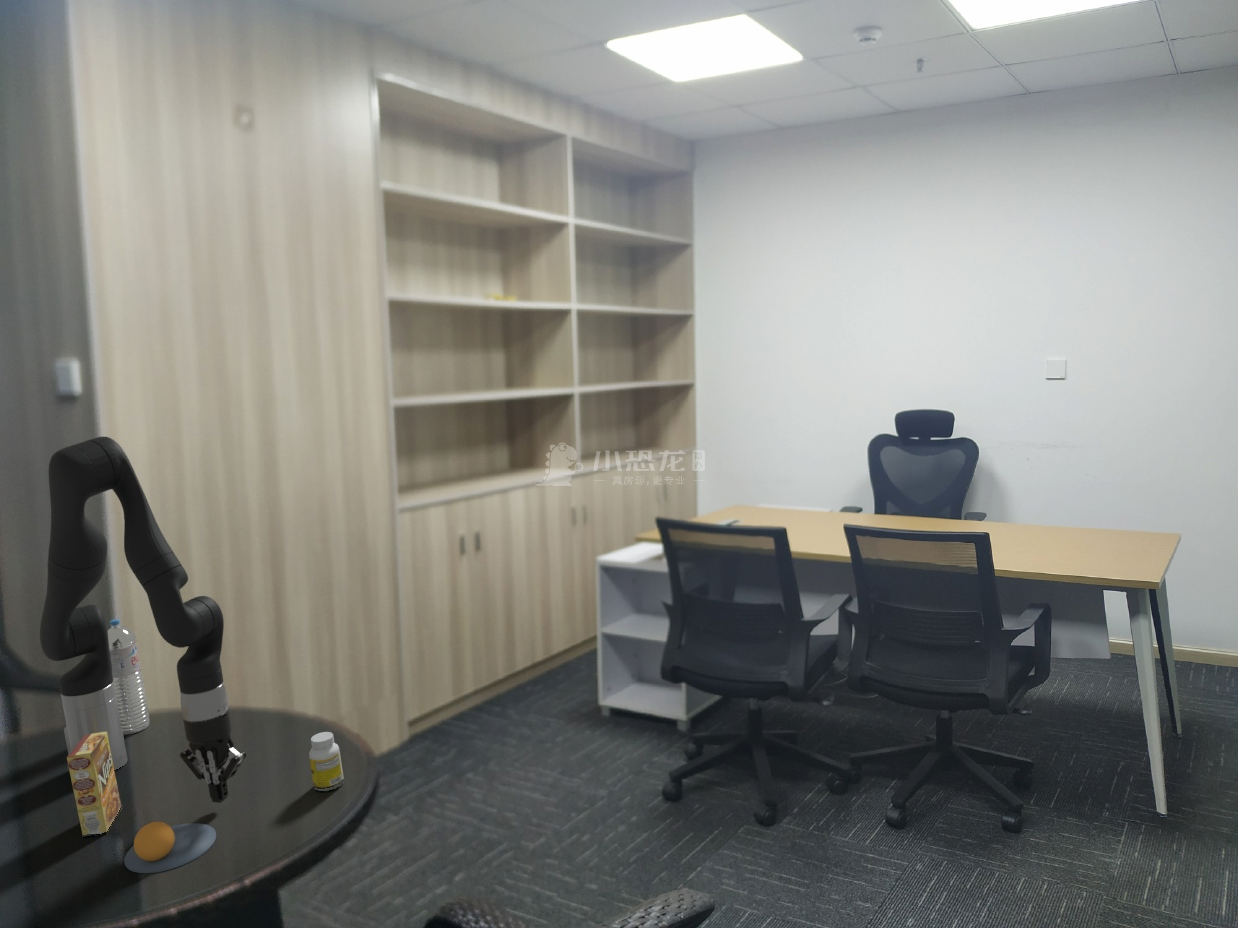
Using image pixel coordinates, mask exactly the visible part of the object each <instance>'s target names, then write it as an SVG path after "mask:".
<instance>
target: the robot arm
mask: <svg viewBox="0 0 1238 928" xmlns="http://www.w3.org/2000/svg"><path fill="white" fill-rule="evenodd" d="M48 484H49V485H48V486H49V498H50V534H49V535H50V536H49V544H48V545H49V546H48V557H47V580H46V581H47V583H46V595H45V600H44V604H43V605H44V606H43V610H42V615H41V619H40V620H41V621H40V626H39V627H40V628H39V640H40V646H41V648H42V649H41V650H42V652H43V654H44V655H45V657H46V658H48V659H49V660H51V661H54V662H60V661H66V660H69V659H72V658H73V659H74V658H76V657H79V656H80V657H81V656H83V655H84V657H83V658H82V659H81V660H80V662H79V663H78V664H76V665H75V666H74V667H72V668H71V669H70V670H68V671H67V672H66V673H64V674H63V675H62V676H61V677H60V678H59V680H58V687H59V693H60V698H61V702H62V704H61V705H62V707H63V713H64V718H65V724H66V726H64V729H63V733H64V739H65V742H66V743H65V744H66V749H67V754H68V755H69V754H70V753H71V752H72V750H73V749H74V748H75V747H76V745H77V744H78V743H79V741H80V740H81V739H82V737H83V736H84V735H88V734H94V733H100V732H107V735H108V740H109V746H110V751H111V756H112V761H113V767H114V770H116V769H118V770H119V768H120V767H121V768H123V767H124V766H125V765H126V764H127V762H128V754H127V749H126V745H125V744H126V743H125V739H124V737H125V736H124V735H123V731H122V725H121V720H120V714H119V709H118V703H117V698H116V692H115V687H114V681H113V675H112V663H111V657H110V649H109V640H108V626H107V625H108V624H107V620H106V618H105V615H104V613H103V611H102V610H101V608H100V607H98V605H95V604H86V605H83V606H82V605H81V606H80V607H79V605H80V603H82V601H83V600H84V599H85V598H86V597H87V596H88V595H89V594H90V593H91V592H92V591H93V590H94V588H95V587H96V586H97V585H98V583H99V582H100V581H101V580H102V578H103V576H104V573H105V569H106V564H107V556H108V542H107V539H106V536H105V535H104V534H103V533H104V532H102V531H101V529H100V528H99V527H98V526H97V525H95V524H94V523H93V522H92V521H91V520H89V518H88V517H87V516H86V515H85V507H86V503H87V501H88V500H89V499H90V498H91V497H94V496H97V495H99V494H102V493H104V492H107V491H110V490H112V491H113V493H115V495H116V497H117V499H118V500H119V502H120V505H121V507H122V511H123V520H124V523H123V525H124V526H123V527H124V529H123V531H124V533H123V534H124V535H123V548H124V550H123V551H124V556H125V558H126V561H127V564H128V566H129V568H130V569H131V571H132V573H133V574H134V576H135V577H136V579H137V581H138V583H140V585H141V587H142V589H143V590H144V591H145V593H146V595H147V599H148V602H149V605H150V609H151V611H152V615H153V618H154V623H155V625H156V628H157V631H158V633H159V635H160V636H161V637H162V639H163V640H164V641H165V642H166V643H168V644H169V645H170V646H172V647H176V648H179V649H180V648H181V649H182V648H187V649H186V651H185V653H184V654H183V655H182V656H181V657H179V659H178V661H177V664H176V673H177V679H178V680H177V681H178V686H179V691H180V693H179V694H180V707H181V712H182V713H181V714H182V721H183V726H184V733H185V737H186V741H188V748H186V749H185V750H183V751H182V752H180V753H179V757H180V758H181V760H183V761H182V762H184V764H185V765H186V766H187V767H188V768H189V770H190V771H191V772H192V774H194V776H195V777H196V779H198V780H204V782H205V783H206V784H207V786H208V791H209V792H208V793H209V797H210V799H211V801H212V803H218V804H221V803H222V802H224V801H225V800H226V799H227V798H228V796H229V791H228V790H229V789H228V782H227V781H228V780H230V779H231V778H234V777H235V776H236V774H237V772H238V771H239V769H240V767H241V766H242V764H243V762H244V761H245V758H246V757H247V753H246V752H245V751H240V752H239V751H238V750H237V749H236V748H234V746H235V744H234V741H233V740H232V738H231V733H232V730H233V724H232V718H231V712H230V706H229V696H228V693H227V689H226V686H225V682H224V676H223V675H224V674H223V670H222V665H221V653H222V648H223V637H224V636H223V635H224V627H225V626H224V624H225V623H224V622H225V621H224V615H223V611H222V609H221V607H220V606H219V605H220V604H218V603H217V602H216V600H215V599H213V597H210V596H208V595H207V596H206V595H199V596H196V597H193V598H191V599H189V600H187V601H184V600H183V598H182V595H181V589H182V588H183V587H185V586H186V584H187V583H188V581H189V576H188V572H187V571H186V569H185V568H184V566H183V565H182V563H181V562H180V560H179V558H178V557H177V556H176V554H175V552H174V551H173V549H172V547H171V546H170V545H169V543H168V541H167V540H166V538H165V535H164V534H163V532H162V530H161V529H160V527H159V525H158V522H157V521H156V518H155V514H154V513H153V511H152V508H151V507H150V504H149V502H148V499H147V497H146V495H145V492H144V489H143V488H142V485H141V483H140V481H139V478H138V477H137V475H136V472H135V470H134V467H133V465H132V463H131V461H130V459H129V458H128V456H127V453H126V452H125V451H124V449H123V448H122V446H121V445H120V443H118V442H117V441H115V440H114V439H113V438H111V437H109V436H97V437H95V438H94V437H93V438H91V439H88V440H85V441H82V442H79V443H75V444H72V445H70V446H66V447H63V448H61V449H59V450H58V451H56V452H54V453H53V454H52V455H51V457H50V460H49V464H48ZM122 766H123V767H122ZM198 766H199V767H198ZM121 768H120V769H121ZM116 771H117V770H116Z"/></svg>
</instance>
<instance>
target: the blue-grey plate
mask: <svg viewBox="0 0 1238 928" xmlns="http://www.w3.org/2000/svg"><path fill="white" fill-rule="evenodd" d="M170 827H171V828H172V830H173V832H174V835H175V841H174V845H173V847H172V849H171V851H170V852H169V853H168V854H167V855H166V856H165V857H163V858H161V859H159V860H156V861H146V860H143V859H141V858H140V857H139V856H138V855H137V854H136V852H135V850H134V845H133V846H132V847H130V848H129V850H127V852H126V854H125V856H124V859H123V861H124V862H123V863H124V866H125V867H126V869H128V870H129V871H130V872H134V873H138V874H156V873H162V872H166V871H170V870H174V869H176V868H179V867H182V866H185V865H187V864H188V863H191V862H192V861H194V860H196V859H198V858H199V857H201V856H203V855H204V854H205V853H206V852H208V850H210V849H211V848H212V847H213V845H214V844H215V842H216V840H217V832H216V830H215V828H214V827H213V826H211V825H208V824H205V823H198V822H197V823H194V822H193V823H192V822H191V823H183V824H178V825H174V826H170Z"/></svg>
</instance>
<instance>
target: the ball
mask: <svg viewBox="0 0 1238 928" xmlns="http://www.w3.org/2000/svg"><path fill="white" fill-rule="evenodd" d="M171 827H172V826H170V825H169V824H168V823H166V822H163V821H152V822H149V823H147V824H146V825H144V826H142V827H141V828H140V830H139V831H138V832H137V833H136V835H135V837H134V840H133V846H134V850H135V852H136V854H137V855H138V856H139V857H140V858H141V859H143V860H146V861H156V860H159V859H161V858H163V857H165V856H166V855H167V854H168V853H169V852H170V851H171V849H172V847H173V845H174V841H175V835H174V832H173V830H172V828H171Z"/></svg>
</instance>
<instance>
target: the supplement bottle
mask: <svg viewBox="0 0 1238 928" xmlns="http://www.w3.org/2000/svg"><path fill="white" fill-rule="evenodd" d="M310 744H311V745H310V746H311V749H310V750H309V753H308V757H309V758H308V759H309V763H310V764H309V765H310V771H311V777H312V782H313V788H314V787H315V788H317V789H325V788H330V787H334V786H335V785H337V784H340V782H342V780H343V779H344V780H345V778H344V771H343V765H342V758H341V757H342V756H341V751H340V750H341V749H340V746H339V745H338V744H337V743H335V738H334V734H333V733H332V732H331V731H330V732H329V731H323V732H319V733H316V734H314V735H313V736H312V737H311V738H310ZM315 788H314V789H315Z"/></svg>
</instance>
